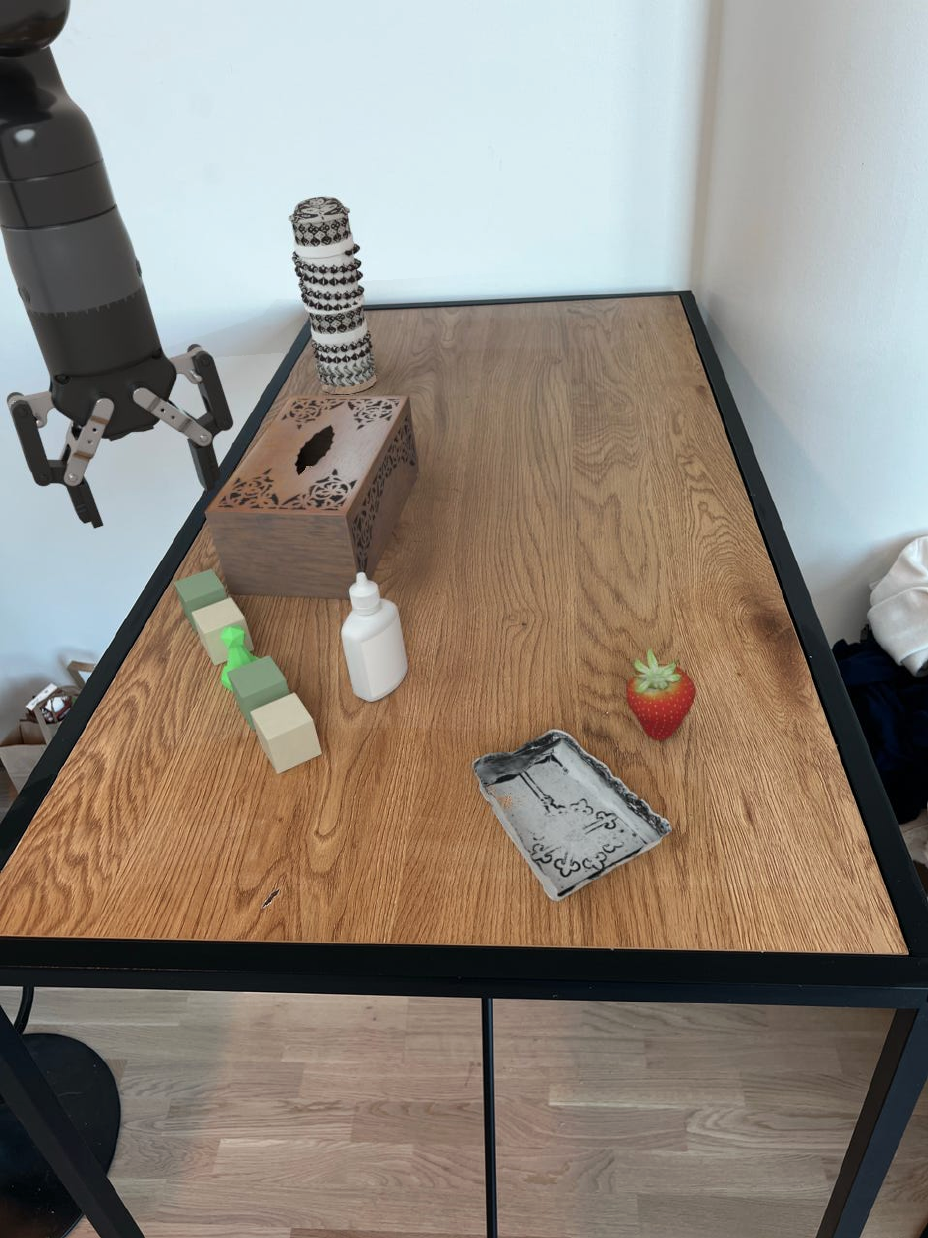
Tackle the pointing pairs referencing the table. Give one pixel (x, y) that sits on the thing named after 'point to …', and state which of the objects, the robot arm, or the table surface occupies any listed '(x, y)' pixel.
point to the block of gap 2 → (257, 685)
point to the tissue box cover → (316, 496)
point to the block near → (286, 732)
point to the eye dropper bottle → (373, 642)
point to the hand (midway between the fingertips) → (153, 504)
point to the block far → (199, 592)
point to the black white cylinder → (332, 291)
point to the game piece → (235, 651)
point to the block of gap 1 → (219, 628)
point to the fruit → (660, 696)
